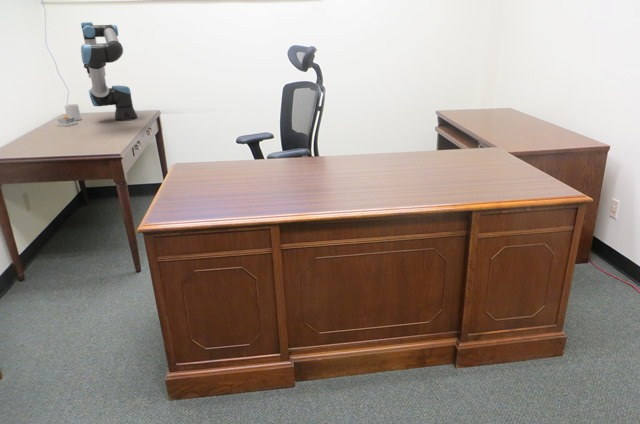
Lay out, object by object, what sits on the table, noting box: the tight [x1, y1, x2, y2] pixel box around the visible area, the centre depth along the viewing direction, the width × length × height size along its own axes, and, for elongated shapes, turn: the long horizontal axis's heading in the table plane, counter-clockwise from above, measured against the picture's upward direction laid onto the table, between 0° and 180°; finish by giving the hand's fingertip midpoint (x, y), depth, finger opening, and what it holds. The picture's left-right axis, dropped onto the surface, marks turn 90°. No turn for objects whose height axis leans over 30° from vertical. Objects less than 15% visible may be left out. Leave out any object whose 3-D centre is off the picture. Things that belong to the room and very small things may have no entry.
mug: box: [64, 103, 82, 122], centre depth 336 cm, size 9×12×11 cm
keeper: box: [56, 114, 79, 128], centre depth 320 cm, size 9×9×6 cm
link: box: [57, 117, 76, 124], centre depth 320 cm, size 7×7×3 cm
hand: (97, 76), depth 336 cm, fingers open, 13 cm apart
